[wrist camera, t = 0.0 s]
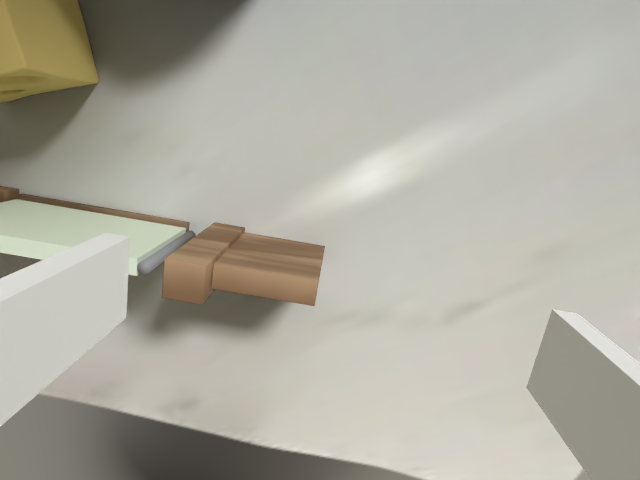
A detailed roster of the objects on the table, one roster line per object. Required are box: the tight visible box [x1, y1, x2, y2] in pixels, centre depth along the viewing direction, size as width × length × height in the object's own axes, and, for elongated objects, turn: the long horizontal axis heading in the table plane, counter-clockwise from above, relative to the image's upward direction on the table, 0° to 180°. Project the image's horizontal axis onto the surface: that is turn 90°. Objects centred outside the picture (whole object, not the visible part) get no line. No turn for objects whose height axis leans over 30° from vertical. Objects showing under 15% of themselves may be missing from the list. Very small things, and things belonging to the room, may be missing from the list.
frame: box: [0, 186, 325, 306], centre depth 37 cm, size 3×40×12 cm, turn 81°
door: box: [0, 199, 196, 276], centre depth 37 cm, size 18×3×10 cm, turn 81°
